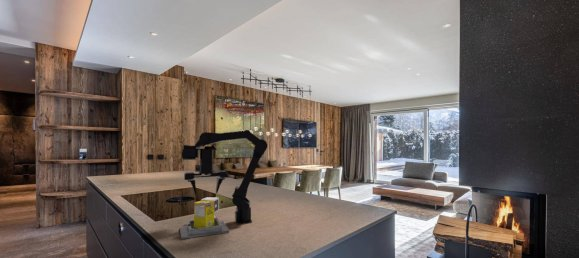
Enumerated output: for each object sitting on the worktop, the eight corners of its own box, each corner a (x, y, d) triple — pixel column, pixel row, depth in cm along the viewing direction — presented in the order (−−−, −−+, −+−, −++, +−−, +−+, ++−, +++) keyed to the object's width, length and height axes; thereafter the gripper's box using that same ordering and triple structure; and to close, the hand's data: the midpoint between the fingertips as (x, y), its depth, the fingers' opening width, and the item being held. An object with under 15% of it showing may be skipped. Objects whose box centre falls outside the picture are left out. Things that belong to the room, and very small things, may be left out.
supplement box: (214, 226, 111) (214, 200, 112) (205, 230, 106) (206, 203, 106) (202, 225, 113) (203, 199, 114) (193, 229, 108) (193, 202, 108)
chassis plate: (222, 222, 119) (222, 216, 119) (229, 232, 106) (229, 225, 106) (179, 228, 112) (180, 221, 112) (181, 239, 99) (181, 231, 99)
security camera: (212, 222, 120) (212, 200, 121) (198, 221, 122) (198, 199, 122) (218, 218, 127) (219, 197, 127) (205, 217, 128) (205, 196, 129)
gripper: (223, 158, 132) (223, 189, 131) (183, 159, 124) (183, 193, 123) (228, 159, 122) (228, 193, 121) (185, 160, 114) (184, 197, 113)
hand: (206, 194), depth 120 cm, fingers open, 9 cm apart
